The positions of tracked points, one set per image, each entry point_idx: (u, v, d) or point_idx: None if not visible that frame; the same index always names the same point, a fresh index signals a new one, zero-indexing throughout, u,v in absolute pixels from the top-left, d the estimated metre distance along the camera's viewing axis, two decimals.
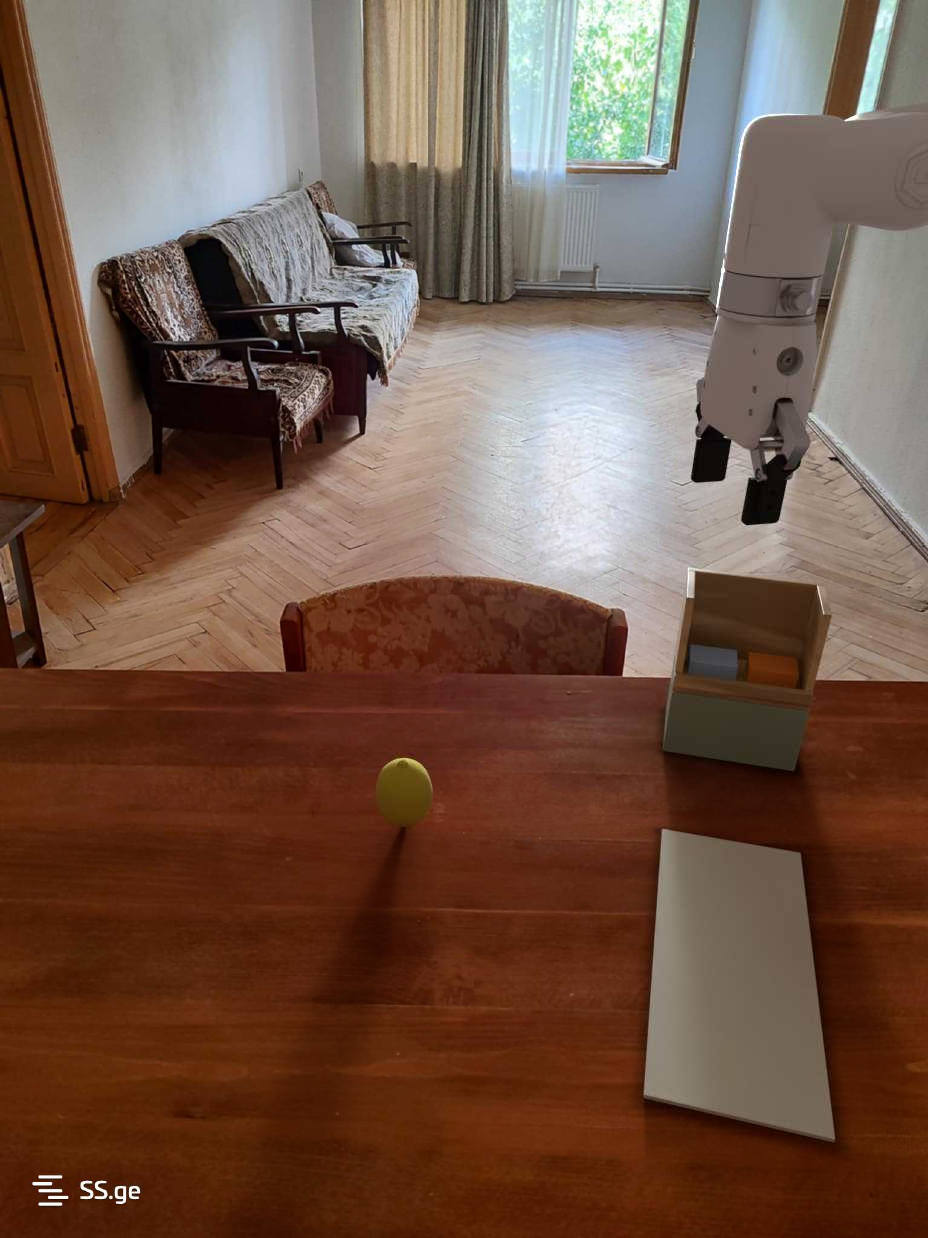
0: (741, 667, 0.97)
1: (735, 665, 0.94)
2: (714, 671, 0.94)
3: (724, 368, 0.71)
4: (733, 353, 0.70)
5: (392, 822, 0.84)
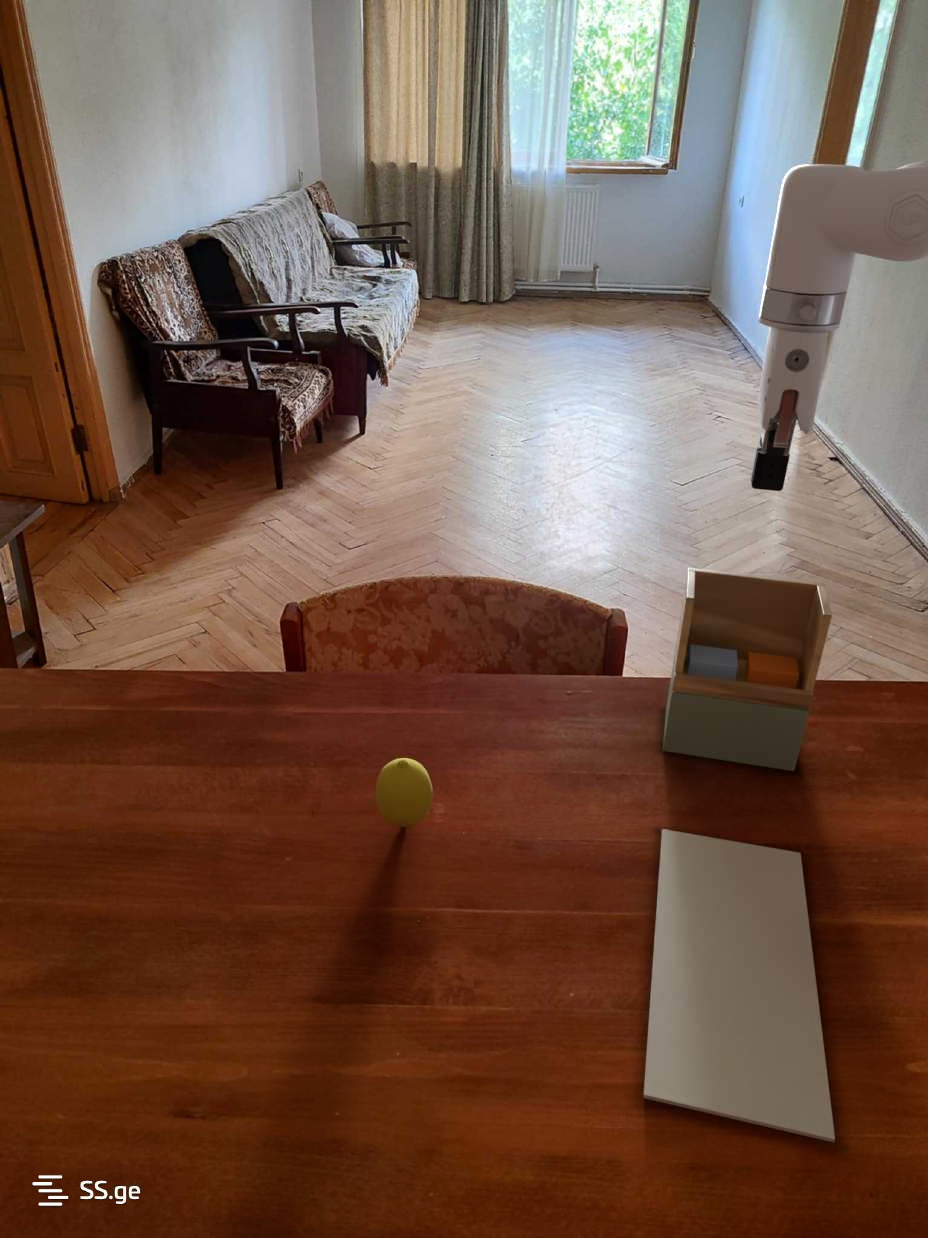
0: (741, 667, 0.97)
1: (735, 665, 0.94)
2: (714, 671, 0.94)
3: (763, 363, 0.89)
4: (766, 351, 0.87)
5: (392, 822, 0.84)
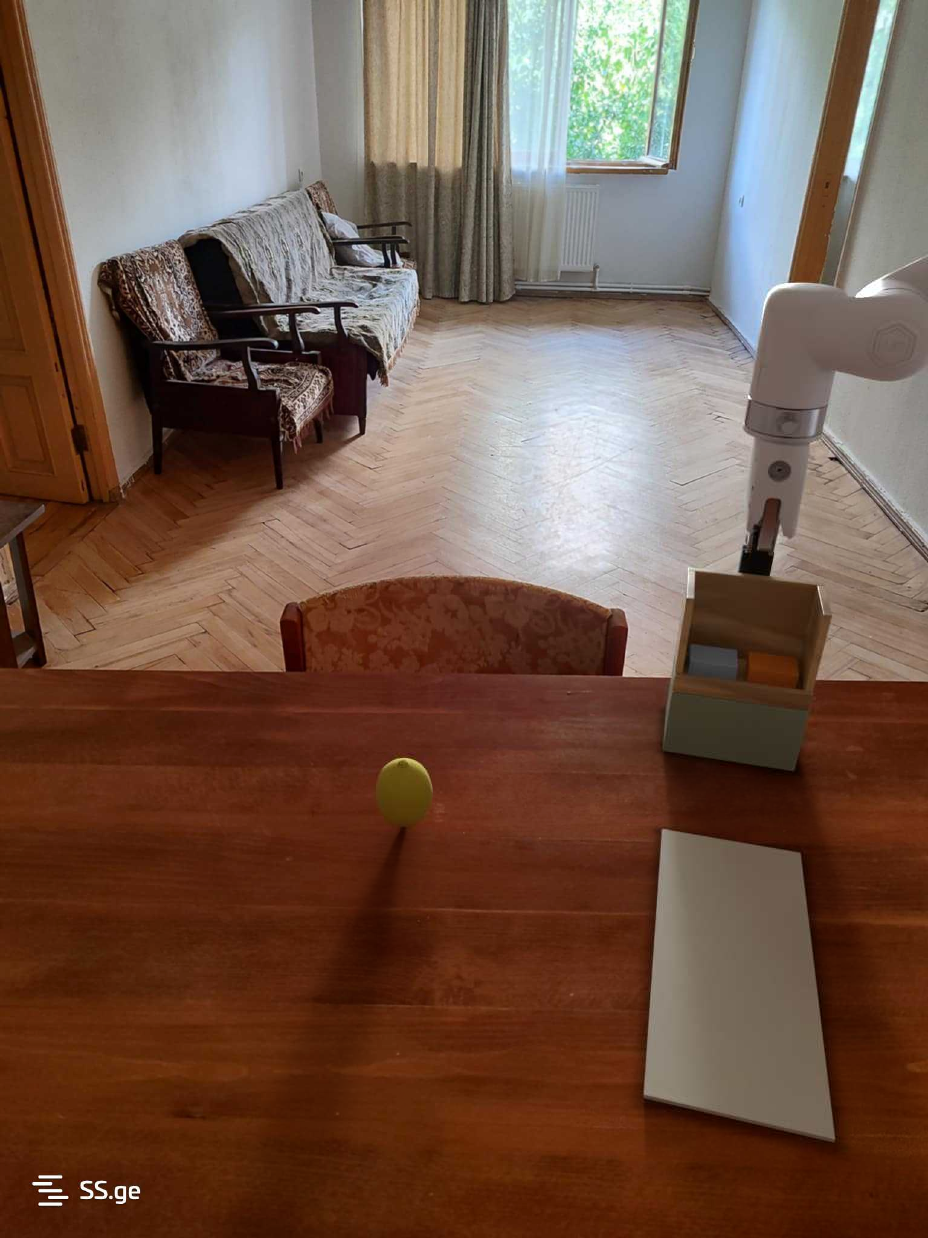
0: (741, 667, 0.97)
1: (735, 665, 0.94)
2: (714, 671, 0.94)
3: (748, 467, 0.91)
4: (750, 457, 0.89)
5: (392, 822, 0.84)
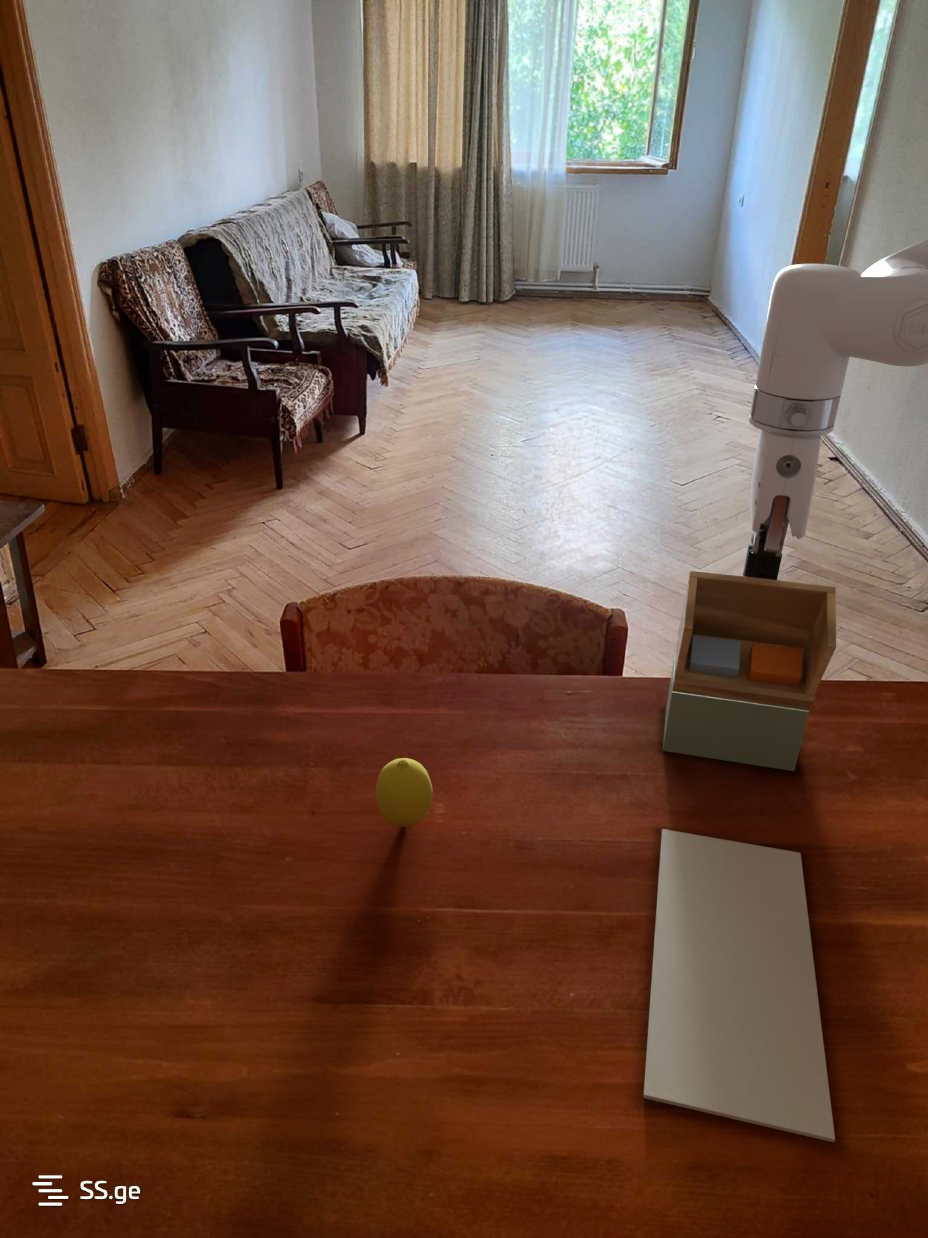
0: (745, 653, 0.95)
1: (737, 666, 0.92)
2: (715, 670, 0.93)
3: (754, 462, 0.85)
4: (757, 452, 0.83)
5: (392, 822, 0.84)
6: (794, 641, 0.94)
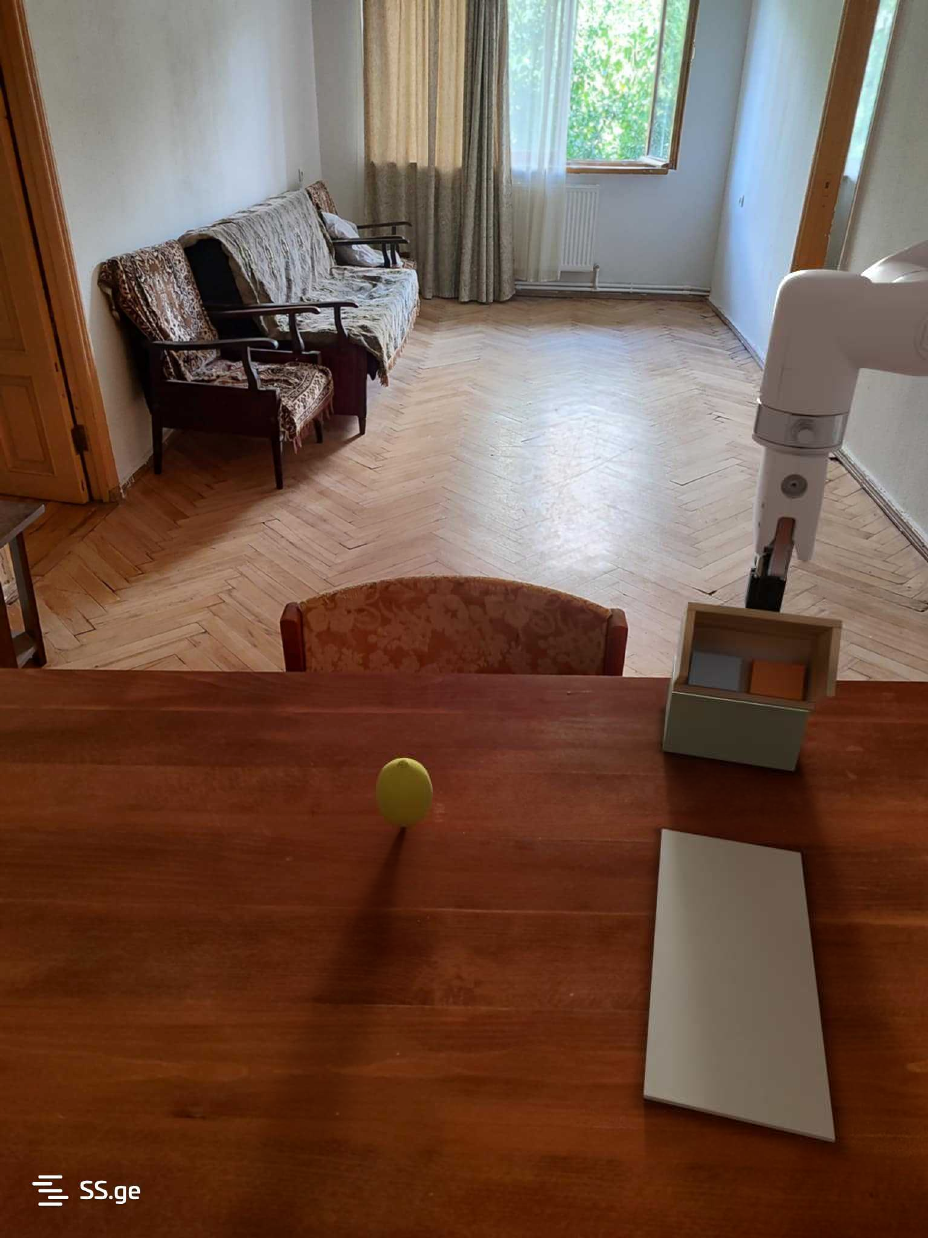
0: (748, 649, 0.93)
1: (735, 688, 0.90)
2: (714, 688, 0.92)
3: (757, 481, 0.80)
4: (760, 470, 0.78)
5: (392, 822, 0.84)
6: (800, 638, 0.91)
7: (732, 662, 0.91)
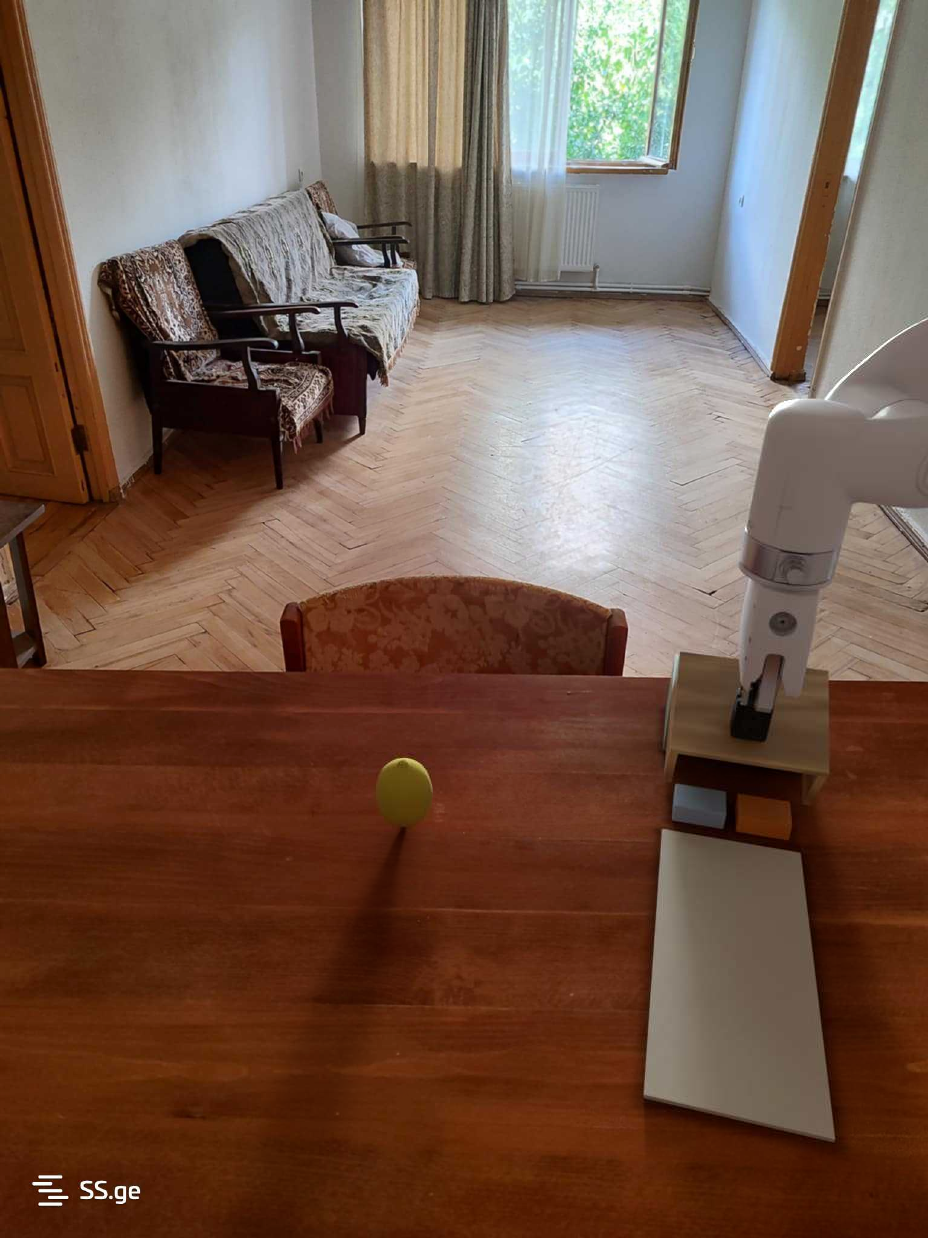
0: None
1: (723, 812, 0.87)
2: (701, 817, 0.87)
3: (744, 608, 0.76)
4: (747, 599, 0.74)
5: (392, 822, 0.84)
6: None
7: (716, 794, 0.89)
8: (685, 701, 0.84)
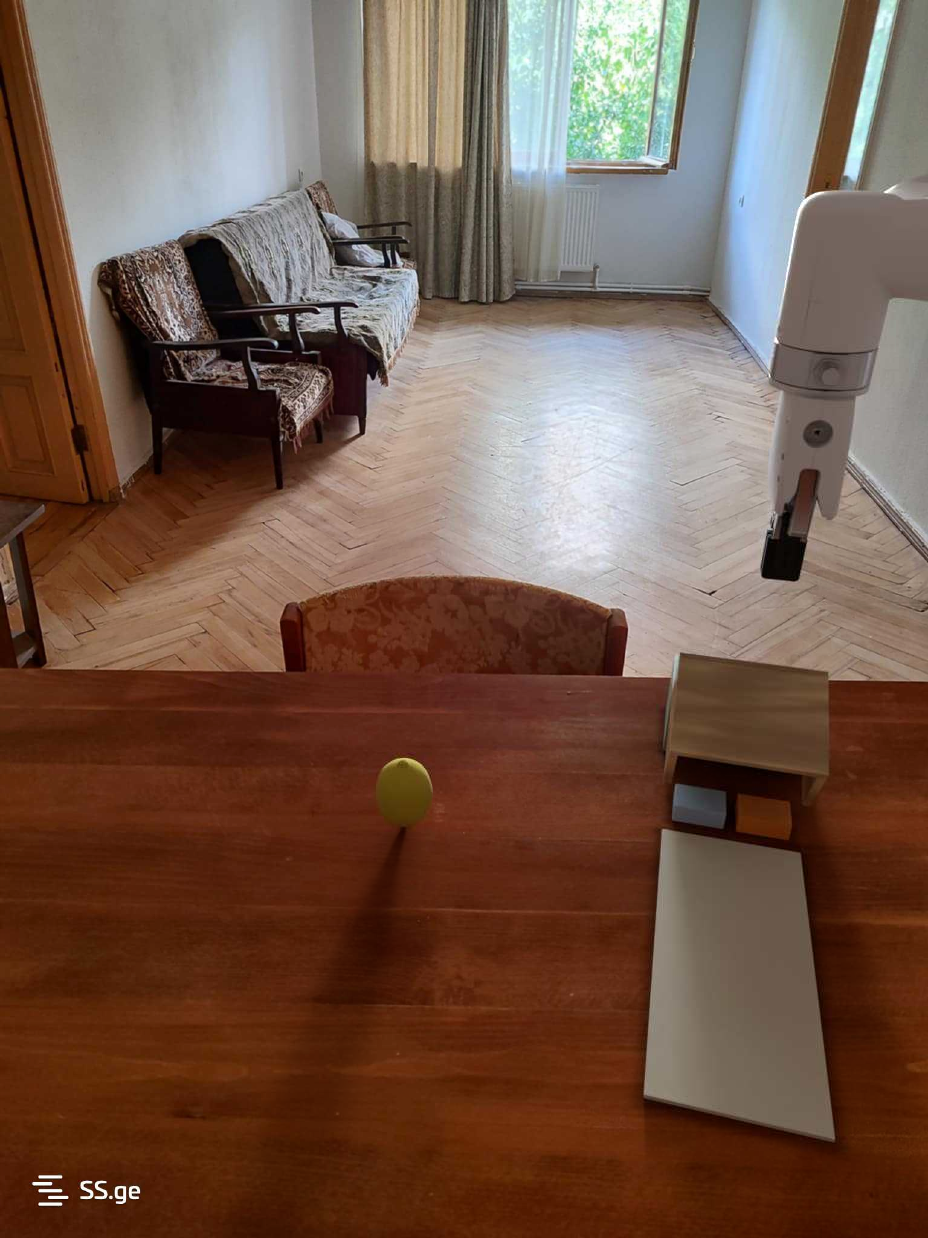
0: None
1: (723, 812, 0.87)
2: (701, 817, 0.87)
3: (774, 432, 0.72)
4: (778, 419, 0.71)
5: (392, 822, 0.84)
6: None
7: (716, 794, 0.89)
8: (685, 703, 0.84)
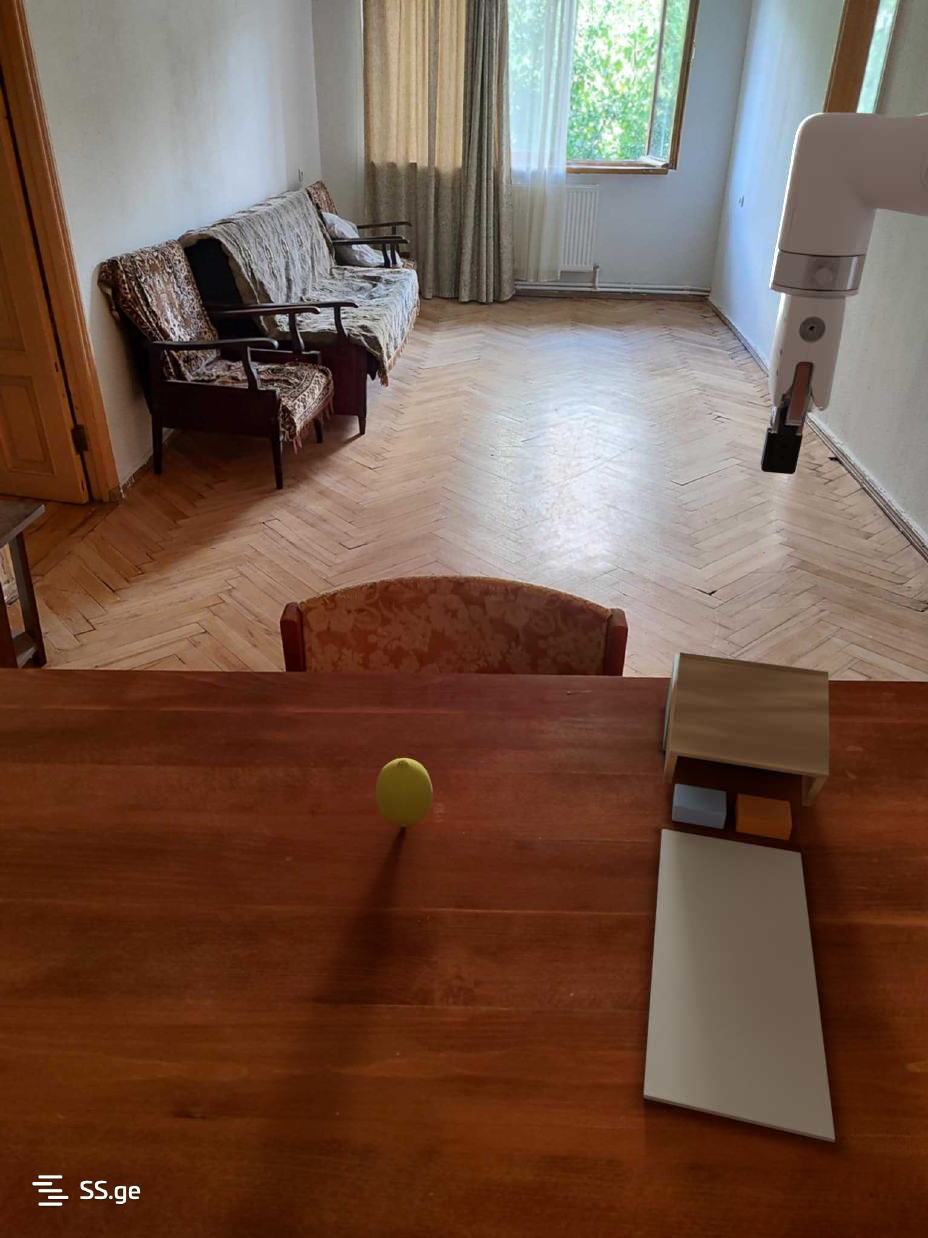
0: None
1: (723, 812, 0.87)
2: (701, 817, 0.87)
3: (775, 335, 0.82)
4: (778, 321, 0.80)
5: (392, 822, 0.84)
6: None
7: (716, 794, 0.89)
8: (685, 703, 0.84)
